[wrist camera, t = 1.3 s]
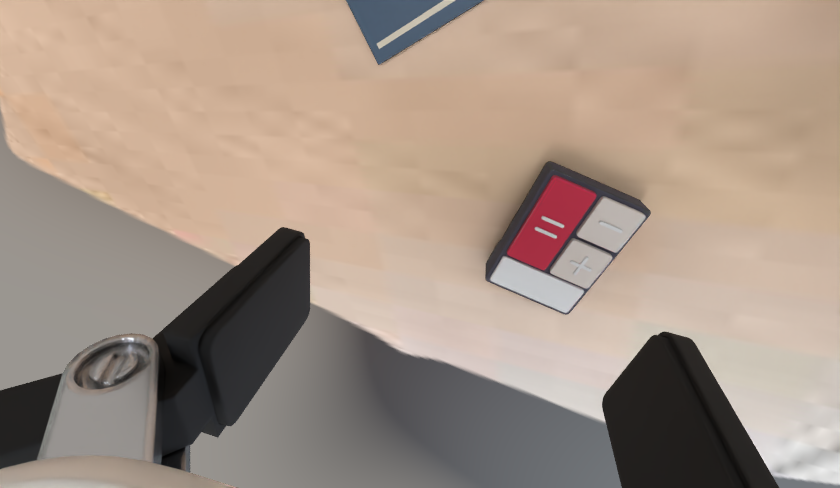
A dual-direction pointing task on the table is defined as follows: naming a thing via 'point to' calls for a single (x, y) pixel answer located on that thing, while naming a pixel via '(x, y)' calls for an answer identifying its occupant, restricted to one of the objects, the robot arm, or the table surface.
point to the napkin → (402, 21)
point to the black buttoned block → (563, 238)
